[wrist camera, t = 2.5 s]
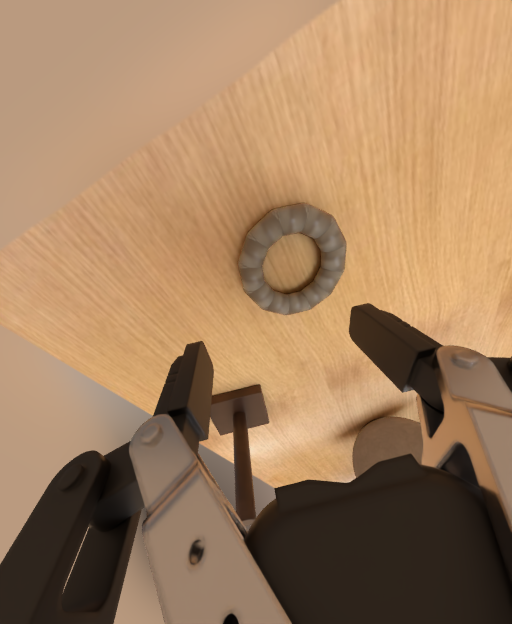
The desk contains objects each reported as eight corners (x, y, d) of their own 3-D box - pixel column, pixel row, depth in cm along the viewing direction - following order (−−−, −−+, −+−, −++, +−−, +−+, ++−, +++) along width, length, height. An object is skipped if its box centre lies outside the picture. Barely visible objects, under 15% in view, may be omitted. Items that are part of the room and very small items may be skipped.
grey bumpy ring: (250, 316, 23) (252, 327, 21) (227, 218, 17) (227, 219, 15) (335, 297, 23) (346, 305, 21) (340, 194, 17) (356, 192, 15)
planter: (407, 394, 37) (546, 535, 21) (414, 408, 41) (539, 539, 24) (330, 435, 41) (397, 580, 25) (342, 444, 44) (409, 578, 28)
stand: (220, 427, 33) (217, 542, 22) (205, 397, 29) (191, 524, 17) (267, 415, 34) (289, 522, 22) (259, 384, 29) (282, 499, 18)
